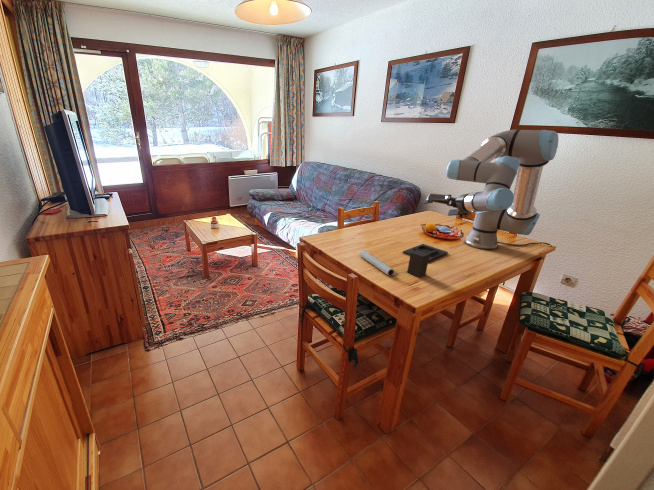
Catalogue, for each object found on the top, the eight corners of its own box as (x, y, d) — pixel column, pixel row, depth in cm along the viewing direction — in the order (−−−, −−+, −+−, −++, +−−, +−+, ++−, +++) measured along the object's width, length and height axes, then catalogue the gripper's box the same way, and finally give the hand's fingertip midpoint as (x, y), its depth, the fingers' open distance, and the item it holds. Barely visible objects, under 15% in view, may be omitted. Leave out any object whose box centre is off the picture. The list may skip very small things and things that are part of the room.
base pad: (422, 245, 171) (423, 241, 170) (447, 254, 160) (448, 249, 159) (402, 253, 161) (403, 248, 160) (427, 262, 151) (428, 257, 150)
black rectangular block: (413, 269, 144) (417, 249, 140) (425, 274, 139) (429, 254, 135) (407, 272, 141) (410, 252, 137) (419, 277, 136) (423, 256, 133)
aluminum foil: (359, 256, 157) (359, 250, 155) (370, 255, 159) (371, 249, 157) (387, 276, 137) (388, 269, 136) (399, 274, 139) (400, 267, 138)
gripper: (441, 198, 118) (410, 203, 139) (494, 224, 121) (456, 225, 142) (448, 180, 118) (416, 188, 139) (501, 206, 121) (462, 210, 142)
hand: (436, 206), depth 141 cm, fingers open, 13 cm apart
